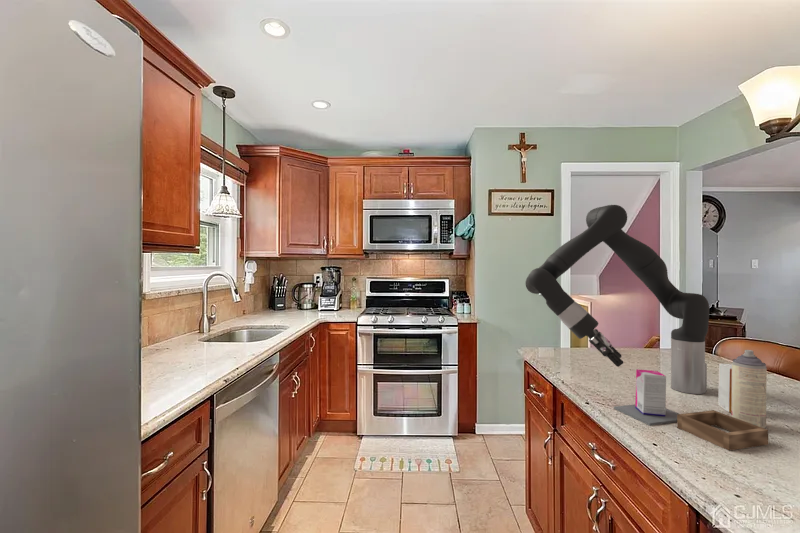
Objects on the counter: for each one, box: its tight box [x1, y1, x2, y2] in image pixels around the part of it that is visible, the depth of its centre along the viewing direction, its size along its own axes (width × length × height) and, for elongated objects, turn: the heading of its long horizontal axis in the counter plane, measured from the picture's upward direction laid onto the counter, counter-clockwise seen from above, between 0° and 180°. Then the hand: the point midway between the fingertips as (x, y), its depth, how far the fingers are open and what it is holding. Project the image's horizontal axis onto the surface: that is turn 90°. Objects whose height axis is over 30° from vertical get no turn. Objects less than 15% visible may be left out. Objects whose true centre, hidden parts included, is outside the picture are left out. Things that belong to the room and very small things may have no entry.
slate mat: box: [613, 403, 680, 426], centre depth 107 cm, size 14×12×1 cm
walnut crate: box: [676, 409, 769, 451], centre depth 93 cm, size 12×12×4 cm
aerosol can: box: [730, 349, 768, 429], centre depth 100 cm, size 7×7×20 cm
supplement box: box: [634, 368, 667, 417], centre depth 107 cm, size 6×6×12 cm
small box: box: [717, 363, 732, 414], centre depth 110 cm, size 8×6×13 cm
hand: (620, 361), depth 110 cm, fingers open, 8 cm apart
